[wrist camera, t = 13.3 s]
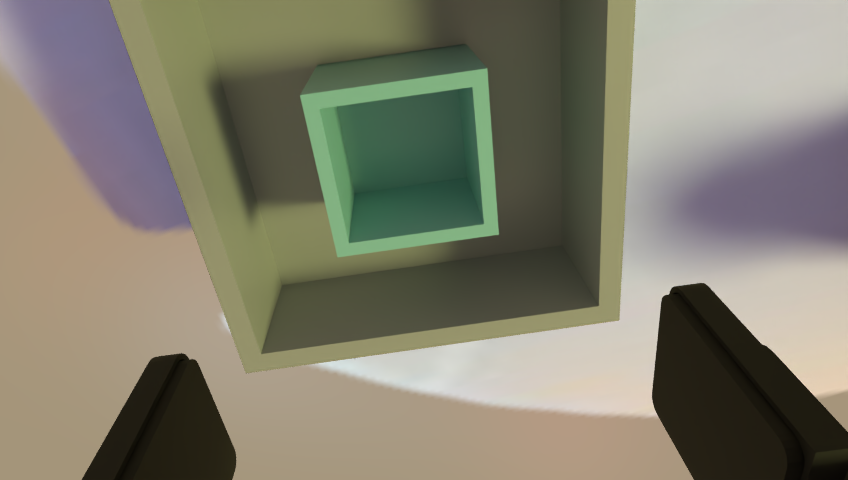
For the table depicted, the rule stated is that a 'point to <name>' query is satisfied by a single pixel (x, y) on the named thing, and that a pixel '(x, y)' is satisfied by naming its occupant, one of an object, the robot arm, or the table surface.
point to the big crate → (302, 194)
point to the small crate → (403, 149)
